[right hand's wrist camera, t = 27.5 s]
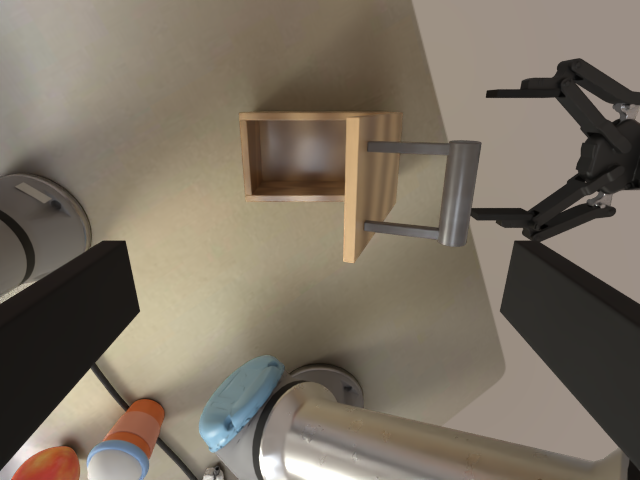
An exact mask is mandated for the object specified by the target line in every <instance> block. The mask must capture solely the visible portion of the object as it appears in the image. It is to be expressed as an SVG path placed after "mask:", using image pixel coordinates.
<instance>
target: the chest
mask: <svg viewBox="0 0 640 480" xmlns="http://www.w3.org/2000/svg"><path fill="white" fill-rule="evenodd" d="M385 113H395V112H386V111H253V112H241V113H239V120H240V121H239V122H240V135H241V148H242V161H243V174H244V187H245V199H246V202H345V164H346V122H347V117H353V116H364V115H374V114H385Z"/></svg>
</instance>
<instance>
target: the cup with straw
mask: <svg viewBox="0 0 640 480" xmlns="http://www.w3.org/2000/svg"><path fill="white" fill-rule="evenodd" d="M164 415H165V414H164V410H163V408H162V407H161V406H160V405H159V404H158V403H157V402H155V401H152V400H149V399H141V400H137V401H135V402H134V403H133V404H132V405H131V406H130V407H129V409H128V410H127V411H126V413H125V414H124V415H122V416H121V417H120V418H119V420H118V421H117V422H116V424H115V425H114V426H113V427H112V429H111V430H110V431H109V433H108V434H107V435H106V436H105V438H104V439H103V441H102V442H101V443H99V444H97V445H96V446H95V447H94V448H93V449H92V450H91V451H90V453H89V455H88V458H87V468H88V479H89V480H143V479H144V477H145V476H146V474H147V472H148V469H149V459H150V457H151V454H152V452H153V449H154V446H155V444H156V441H157V438H158V436H159V433H160V427H161V425H162V422H163V419H164Z"/></svg>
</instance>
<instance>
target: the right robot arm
mask: <svg viewBox="0 0 640 480" xmlns="http://www.w3.org/2000/svg"><path fill="white" fill-rule="evenodd" d="M90 244H91V229H90V225H89V221H88V219H87V216H86V214H85V212H84V210H83V209H82V207H81V206H80V204H79V203H78V202H77V200H76V199H75V198H74V197H73V196H72V195H71V194H70V193H69V192H68V191H66V190H65V189H64V188H63V187H61V186H60V185H58V184H56V183H55V182H53V181H51V180H49V179H46V178H44V177H41V176H38V175H33V174H24V173H19V174H11V175H7V176H2V177H0V297H1V296H3V295H5V294H6V293H8V292H10V291H11V290H13V289H14V288H16V287H18V286H19V285H21V284H24V283H29V282H34V281H37V282H35V283H34V284H32V285H30V286H29V287H27V288H26V289H24V290H22V291H21V292H19V293H18V294H16V295H14V296H13V297H11V298H9V299H8V300H6V301H5V302H3V303H1V304H0V471H1V469H2V468H3V467H4V466H5V465H6V464H7V463H8V461H9V460H10V459H11V458H12V457H13V456H14V455H15V453H16V452H17V451H18V450H19V449H20V448H21V447H22V445H23V444H24V443H25V442H26V441H27V440H28V439H29V438H30V436H31V435H32V434H33V433H34V432H35V431H36V430H37V428H38V427H39V426H40V425H41V424H42V423H43V422H44V420H45V419H46V418H47V417H48V416H49V415H50V414H51V412H52V411H53V410H54V409H55V408H56V407H57V406H58V404H59V403H60V402H61V401H62V400H63V399H64V398H65V396H66V395H67V394H68V393H69V392H70V391H71V390H72V388H73V387H74V386H75V385H76V384H77V383H78V382H79V380H80V379H81V378H82V377H83V376H84V375H85V374H86V372H87V371H88V370H89V369H90V368H91V369H92V371H93V372H94V373H95V375H96V376H97V377H98V379H99V380H100V381H101V382H102V384H103V385H104V386H105V388H106V389H107V390H108V392H109V393H110V394H111V395H112V397H113V398H114V399H115V400H116V401H117V402H118V404H119V405H120V406H121V407H122V408H123V409H124V410H125V411H127V410H128V409H129V406H128V405H127V403H126V402H125V401H124V400H123V399H122V398H121V397H120V395H119V394H118V393H117V392H116V390H115V389H114V388H113V386H112V385H111V384H110V383H109V381H108V380H107V379H106V377H105V376H104V375H103V374H102V372H101V371H100V370H99V368H98V367H97V365H96V364H95V362H96V361H97V360H98V359H99V358H100V357H101V355H102V354H103V353H104V352H105V351H106V350H107V349H108V347H109V346H110V345H111V344H112V343H113V342H114V341H115V339H116V338H117V337H118V336H119V335H120V334H121V333H122V331H123V330H124V329H125V328H126V327H127V326H128V325H129V323H130V322H131V321H132V320H133V319H134V318H135V317H136V315H137V314H138V313H139V312H140V309H139V304H138V299H137V294H136V289H135V284H134V280H133V275H132V270H131V265H130V260H129V255H128V251H127V246H126V241H101V242H100V243H98V244H97V245H95V246H93V247H92V248H90ZM89 248H90V249H89ZM500 312H501V313H502V314H503V315H504V317H505V318H506V319H507V320H508V321H509V322H510V323H511V325H512V326H513V327H514V328H515V329H516V330H517V331H518V333H519V334H520V335H521V336H522V337H523V338H524V339H525V341H526V342H527V343H528V344H529V345H530V346H531V347H532V349H533V350H534V351H535V352H536V353H537V354H538V355H539V356H540V358H541V359H542V360H543V361H544V362H545V363H546V365H547V366H548V367H549V368H550V369H551V370H552V371H553V372H554V374H555V375H556V376H557V377H558V378H559V379H560V380H561V382H562V383H563V384H564V385H565V386H566V387H567V388H568V390H569V391H570V392H571V393H572V394H573V395H574V396H575V398H576V399H577V400H578V401H579V402H580V403H581V404H582V406H583V407H584V408H585V409H586V410H587V411H588V412H589V414H590V415H591V416H592V417H593V418H594V419H595V420H596V422H597V423H598V424H599V425H600V426H601V427H602V428H603V430H604V431H605V432H606V433H607V434H608V435H609V436H610V438H611V439H612V440H613V441H614V442H615V443H616V444H617V445H618V447H619V448H620V449H621V450H622V451H623V452H624V453H625V455H626V456H627V457H628V458H629V459H630V460H631V461H632V463H633V464H634V465H635V466H636V467H637V468H638V469H639V471H640V304H639V303H637V302H635V301H634V300H632V299H631V298H629V297H627V296H626V295H624V294H622V293H621V292H619V291H618V290H616V289H614V288H613V287H611V286H610V285H608V284H606V283H605V282H603V281H601V280H600V279H598V278H597V277H595V276H593V275H592V274H590V273H589V272H587V271H585V270H584V269H582V268H581V267H579V266H577V265H576V264H574V263H572V262H571V261H569V260H568V259H566V258H564V257H563V256H561V255H560V254H558V253H556V252H555V251H553V250H551V249H550V248H548V247H547V246H545V245H543V244H542V243H540V242H539V241H514V246H513V251H512V255H511V260H510V265H509V270H508V275H507V280H506V284H505V289H504V294H503V299H502V304H501V309H500ZM156 443H157V444H158V445H159V446H160V447H161V448H162V449H163V450H164V451H165V452H166V453H167V454H168V455H169V456H170V457H171V458H172V460H173V461H174V462H175V463H176V464H177V465H178V466H179V467H180V468H181V469H182V470H183V471H184V473H185V474H186V475H187V476H188V477H189V479H190V480H197V478H196V477H195V476H194V475H193V474H192V472H191V471H190V470H189V469H188V468H187V466H186V465H185V464H184V463H183V462H182V461H181V460H180V459H179V458H178V457H177V456H176V454H175V453H174V452H173V451H172V450H171V449H170V448H169V447H168V446H167V445H166V444H165V443H164V442H163V441H162V440H161V439H160V438H159V437H158V438H157V441H156Z"/></svg>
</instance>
